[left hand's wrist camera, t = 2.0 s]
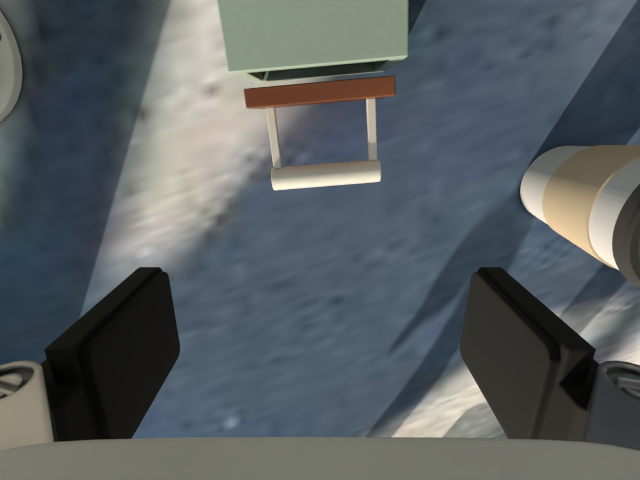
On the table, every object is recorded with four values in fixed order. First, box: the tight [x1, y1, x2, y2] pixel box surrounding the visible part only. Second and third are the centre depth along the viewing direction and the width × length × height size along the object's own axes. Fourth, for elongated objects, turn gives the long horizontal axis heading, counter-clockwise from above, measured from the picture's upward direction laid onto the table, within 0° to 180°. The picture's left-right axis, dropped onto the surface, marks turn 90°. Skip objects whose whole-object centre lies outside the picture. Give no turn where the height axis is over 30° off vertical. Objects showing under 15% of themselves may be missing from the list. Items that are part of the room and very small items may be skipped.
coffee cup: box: [520, 145, 640, 287], centre depth 26 cm, size 9×9×15 cm
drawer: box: [244, 62, 395, 190], centre depth 24 cm, size 24×10×7 cm, turn 5°
